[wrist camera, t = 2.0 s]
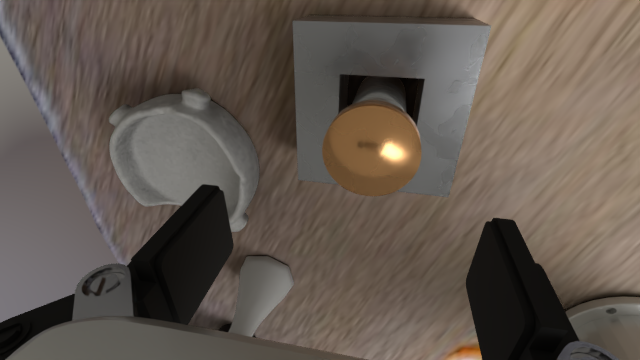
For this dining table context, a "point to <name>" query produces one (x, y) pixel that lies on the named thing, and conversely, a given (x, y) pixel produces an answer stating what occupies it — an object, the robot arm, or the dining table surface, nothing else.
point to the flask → (259, 292)
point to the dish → (184, 152)
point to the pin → (373, 140)
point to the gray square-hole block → (388, 61)
